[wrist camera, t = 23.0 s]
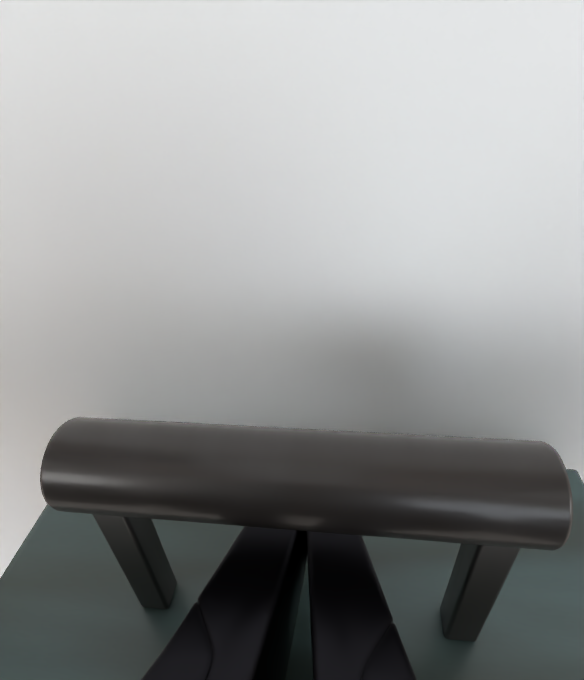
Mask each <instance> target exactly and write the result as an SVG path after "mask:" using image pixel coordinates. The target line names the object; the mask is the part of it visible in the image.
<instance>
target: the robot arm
mask: <svg viewBox="0 0 584 680" xmlns="http://www.w3.org/2000/svg"><path fill="white" fill-rule="evenodd" d="M306 562H308V584H309V604H310V624H311V644H312V664H313V680H417V678H416V676H415V673H414V671H413V669H412V666H411V664H410V661H409V659H408V656H407V654H406V651H405V649H404V646H403V644H402V641H401V638H400V636H399V633H398V630H397V628H396V625H395V624H394V623H392V622H393V618H392V615H391V612H390V610H389V607H388V604H387V602H386V599H385V596H384V594H383V591H382V588H381V585H380V583H379V580H378V577H377V575H376V572H375V569H374V567H373V564H372V561H371V559H370V556H369V553H368V551H367V548H366V545H365V543H364V540H363V537H362V535H349V534H337V533H324V532H311V531H299V530H286V529H274V528H261V527H249V526H244V527H243V529H242V530H241V532H240V533H239V535H238V537H237V538H236V540H235V541H234V543H233V544H232V546H231V547H230V549H229V551H228V552H227V554H226V555H225V557H224V558H223V560H222V561H221V563H220V564H219V566H218V568H217V569H216V571H215V572H214V574H213V575H212V577H211V578H210V580H209V582H208V583H207V585H206V586H205V588H204V589H203V591H202V592H201V594H200V596H199V597H198V602H195V603H194V605H193V606H192V608H191V609H190V611H189V612H188V614H187V615H186V617H185V619H184V620H183V622H182V623H181V625H180V626H179V628H178V629H177V631H176V632H175V633H174V635H173V636H172V638H171V639H170V641H169V642H168V644H167V645H166V647H165V648H164V650H163V651H162V652H161V654H160V655H159V656H158V658H157V659H156V660H155V662H154V663H153V664H152V666H151V667H150V668H149V670H148V671H147V672H146V674H145V675H144V676H143V678H142V679H141V680H285V678H286V672H287V667H288V662H289V656H290V651H291V645H292V640H293V634H294V629H295V624H296V618H297V613H298V607H299V602H300V596H301V591H302V586H303V580H304V575H305V568H306Z"/></svg>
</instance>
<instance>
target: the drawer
mask: <svg viewBox="0 0 584 680" xmlns="http://www.w3.org/2000/svg"><path fill="white" fill-rule="evenodd" d="M40 482H41V490H42V494H43V497H44V499H45V501H46V502H47V506H46V507H45V509H44V511H43V512H42V514H41V515H40V517H39V518H38V520H37V522H36V523H35V525H34V526H33V528H32V529H31V531H30V533H29V534H28V536H27V537H26V539H25V540H24V542H23V544H22V545H21V547H20V548H19V550H18V551H17V553H16V555H15V556H14V558H13V559H12V561H11V562H10V564H9V566H8V567H7V569H6V570H5V572H4V574H3V575H2V577H1V578H0V680H141V679H142V678H143V676H144V675H145V674H146V672H147V671H148V670H149V668H150V667H151V666H152V664H153V663H154V662H155V660H156V659H157V658H158V656H159V655H160V654H161V652H162V651H163V650H164V648H165V647H166V645H167V644H168V642H169V641H170V639H171V638H172V636H173V635H174V633H175V632H176V631H177V629H178V628H179V626H180V625H181V623H182V622H183V620H184V619H185V617H186V615H187V614H188V612H189V611H190V609H191V608H192V606H193V605H194V603H195V602H198V597H199V596H200V594H201V592H202V591H203V589H204V588H205V586H206V585H207V583H208V582H209V580H210V578H211V577H212V575H213V574H214V572H215V571H216V569H217V568H218V566H219V564H220V563H221V561H222V560H223V558H224V557H225V555H226V554H227V552H228V551H229V549H230V547H231V546H232V544H233V543H234V541H235V540H236V538H237V537H238V535H239V533H240V532H241V530H242V529H243V527H244V526H249V527H261V528H274V529H286V530H299V531H311V532H324V533H337V534H349V535H362V537H363V540H364V543H365V545H366V548H367V551H368V553H369V556H370V559H371V561H372V564H373V567H374V569H375V572H376V575H377V577H378V580H379V583H380V585H381V588H382V591H383V594H384V596H385V599H386V602H387V604H388V607H389V610H390V612H391V615H392V618H393V622H392V623H394V624H395V625H396V628H397V630H398V633H399V636H400V638H401V641H402V644H403V646H404V649H405V651H406V654H407V656H408V659H409V661H410V664H411V666H412V669H413V671H414V673H415V676H416V678H417V680H584V484H583V482H582V480H581V478H580V476H579V474H578V472H577V471H576V470H571V469H566V468H565V466H564V464H563V461H562V459H561V458H560V456H559V454H558V453H557V451H556V450H555V449H554V448H553V447H552V446H550V445H549V444H547V443H545V442H541V441H526V440H506V439H487V438H468V437H449V436H430V435H410V434H391V433H372V432H353V431H334V430H314V429H295V428H276V427H257V426H238V425H218V424H199V423H180V422H161V421H142V420H122V419H103V418H84V417H77V418H73V419H71V420H68V421H67V422H65V423H64V424H62V425H61V426H60V427H59V428H58V429H57V431H56V432H55V433H54V435H53V436H52V438H51V439H50V441H49V443H48V445H47V448H46V450H45V453H44V457H43V460H42V465H41V474H40ZM285 680H313V664H312V644H311V624H310V604H309V584H308V562H306V568H305V575H304V580H303V586H302V591H301V596H300V602H299V607H298V613H297V618H296V624H295V629H294V634H293V640H292V645H291V651H290V656H289V662H288V667H287V672H286V678H285Z"/></svg>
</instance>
